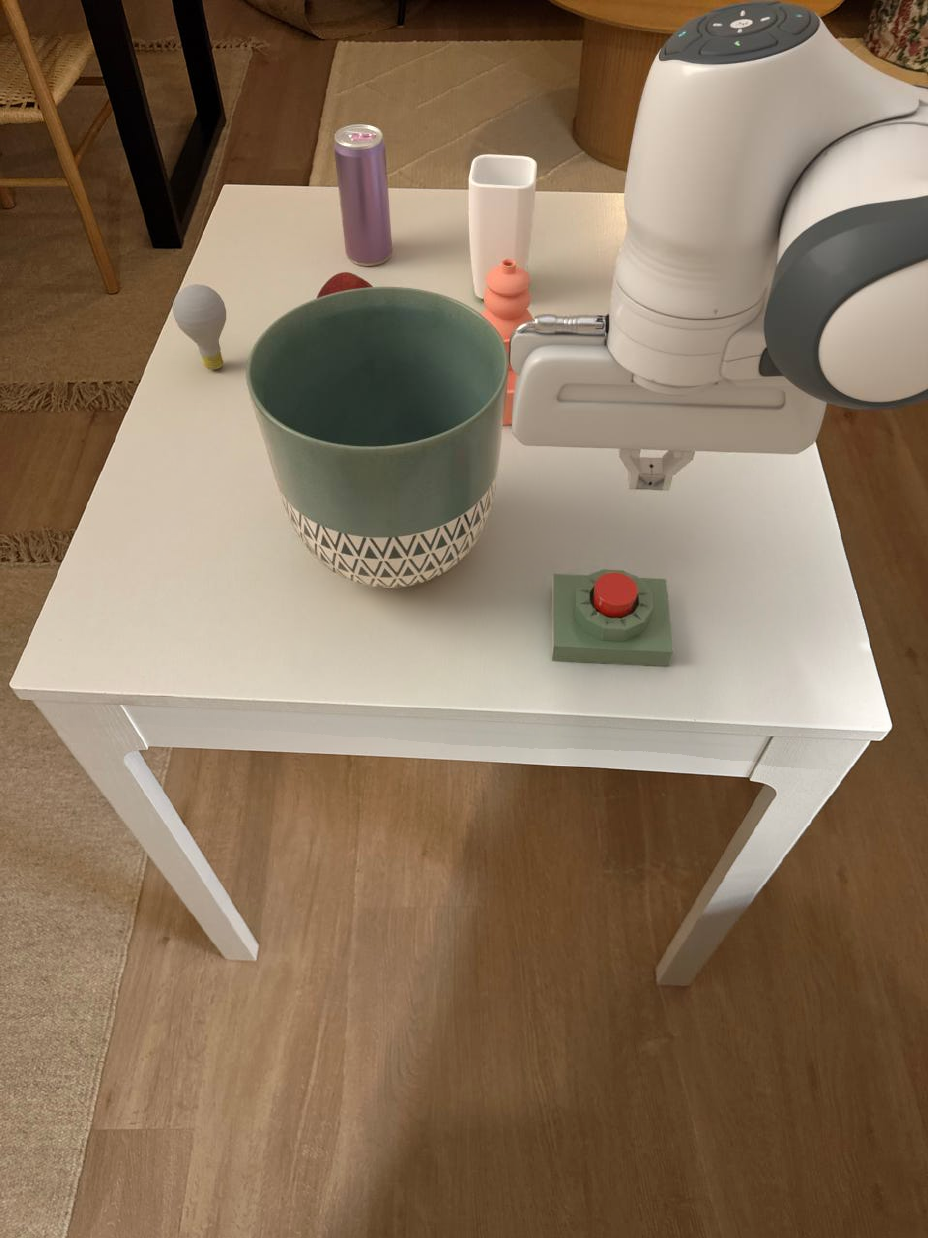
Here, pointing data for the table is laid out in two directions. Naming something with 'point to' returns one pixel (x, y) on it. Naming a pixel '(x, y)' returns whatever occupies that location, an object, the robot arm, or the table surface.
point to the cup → (500, 213)
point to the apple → (343, 284)
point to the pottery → (507, 311)
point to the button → (615, 594)
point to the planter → (383, 428)
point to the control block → (610, 623)
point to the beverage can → (363, 193)
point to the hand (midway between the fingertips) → (647, 484)
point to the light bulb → (202, 320)
